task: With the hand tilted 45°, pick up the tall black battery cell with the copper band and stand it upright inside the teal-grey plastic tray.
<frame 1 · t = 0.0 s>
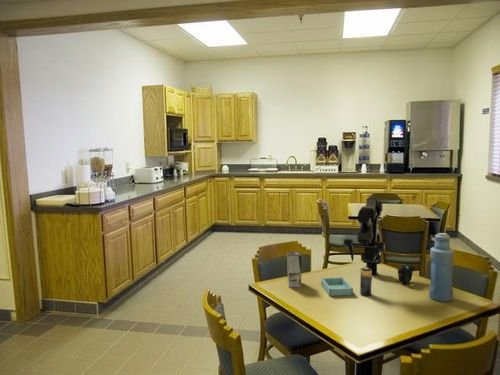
hand: (362, 262, 188), 15 cm above the table, tool tilted 35°, fingers open, 9 cm apart
controller: (406, 283, 203), on the table
battery cell: (365, 294, 187), on the table
bottle: (440, 298, 181), on the table
coffee box: (294, 284, 202), on the table
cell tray: (336, 290, 193), on the table
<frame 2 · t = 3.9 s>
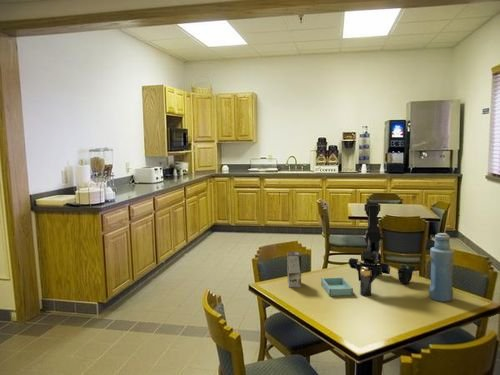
hand: (364, 281, 185), 7 cm above the table, tool tilted 45°, fingers closed on battery cell, 5 cm apart
battery cell: (365, 294, 187), on the table, touching gripper
everything else where it was.
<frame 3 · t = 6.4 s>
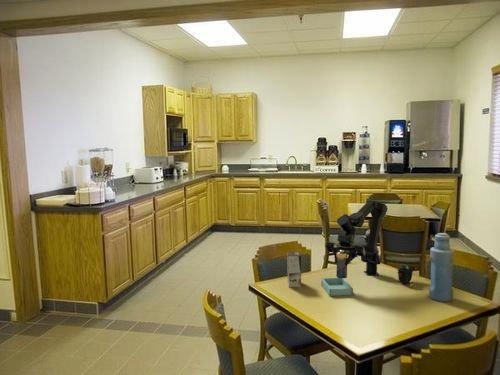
hand: (340, 264, 190), 14 cm above the table, tool tilted 45°, fingers closed on battery cell, 5 cm apart
battery cell: (341, 276, 191), point 7 cm above the table, touching gripper
everything else where it was.
when the fingers open (9 cm above the table, at t = 8.6 s): battery cell drops 1 cm, resting on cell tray.
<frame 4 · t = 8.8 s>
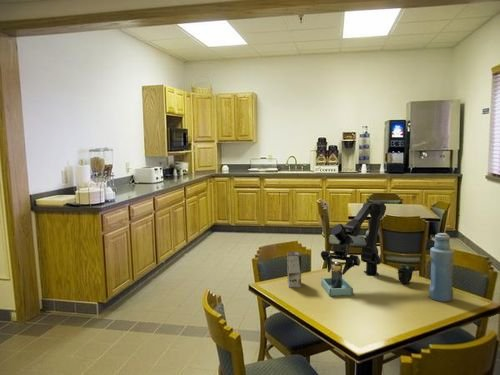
hand: (335, 273, 191), 9 cm above the table, tool tilted 45°, fingers open, 7 cm apart
battery cell: (336, 288, 193), point 1 cm above the table, touching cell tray
everything else where it was.
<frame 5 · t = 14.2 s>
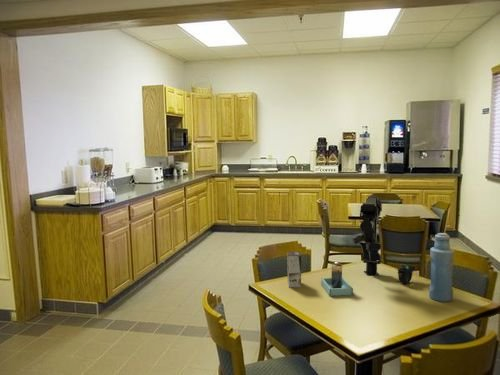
hand: (368, 258, 200), 13 cm above the table, tool pointing down, fingers open, 9 cm apart
nothing on the table moved.
at the end: battery cell inside the target area on the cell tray (0.0 cm from its centre), point 0.7 cm above the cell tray's base; battery cell tilted 1°; the gripper is holding nothing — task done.
